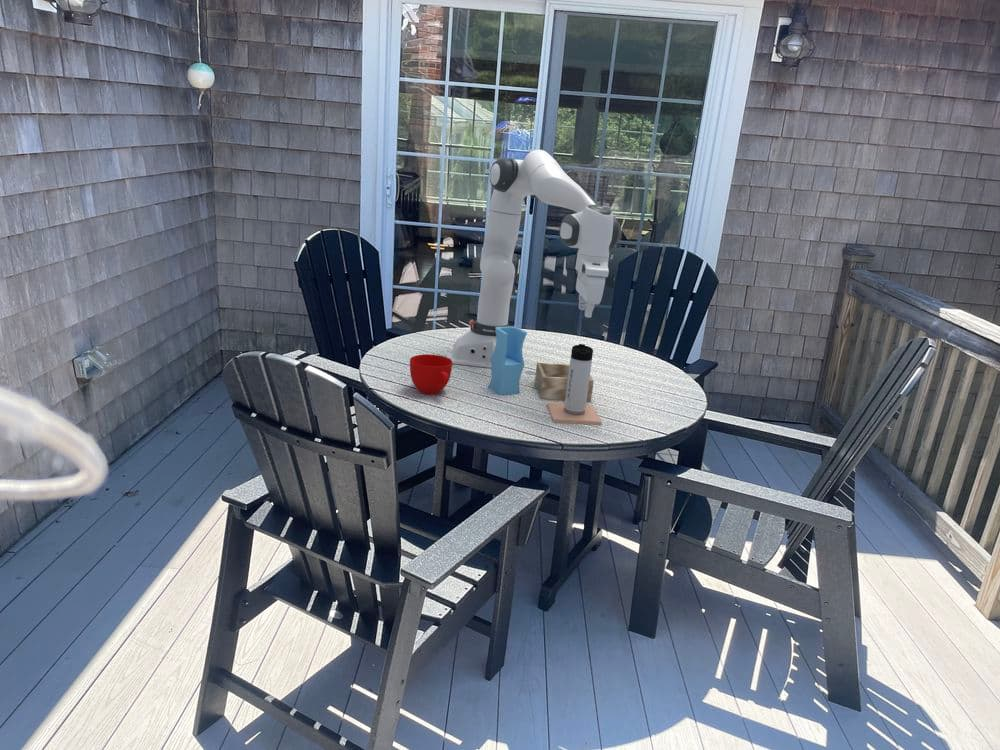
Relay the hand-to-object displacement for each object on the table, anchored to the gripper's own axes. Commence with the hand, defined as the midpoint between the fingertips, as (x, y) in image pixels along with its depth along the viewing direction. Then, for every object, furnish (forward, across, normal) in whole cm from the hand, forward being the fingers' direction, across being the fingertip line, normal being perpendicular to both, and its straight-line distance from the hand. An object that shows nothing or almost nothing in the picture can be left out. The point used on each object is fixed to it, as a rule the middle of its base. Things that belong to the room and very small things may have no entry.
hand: (584, 313), depth 207 cm
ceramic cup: (+32, -11, -41) cm, 53 cm away
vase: (+31, -18, -18) cm, 41 cm away
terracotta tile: (+31, 0, +1) cm, 31 cm away
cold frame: (+31, -20, +1) cm, 37 cm away
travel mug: (+30, 0, +1) cm, 30 cm away
